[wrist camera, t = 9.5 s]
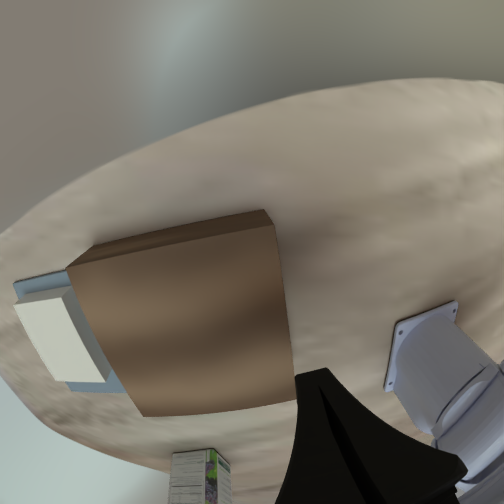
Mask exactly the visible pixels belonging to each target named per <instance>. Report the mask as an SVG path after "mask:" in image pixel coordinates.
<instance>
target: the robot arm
mask: <svg viewBox="0 0 504 504" xmlns="http://www.w3.org/2000/svg"><path fill="white" fill-rule="evenodd" d="M457 309H458V302H457V301H453V302H450V303H448V304H445V305H443V306H441V307H438V308H436V309H433V310H431V311H428V312H425V313H423V314H420V315H417V316H415V317H412V318H409V319H406V320H404V321H401V322H399V323H398V324H397V325H396V327H395V333H394V339H393V345H392V351H391V357H390V362H389V367H388V372H387V377H386V382H385V386H384V391H385V392H389V391H392V390H393V391H394V392H395V394H396V395H397V397H398V399H399V400H400V402H401V403H402V405H403V407H404V408H405V410H406V412H407V413H408V415H409V417H410V418H411V420H412V421H413V423H414V425H415V426H416V427H417V428H418V429H419V430H421V431H423V432H425V433H427V434H432V435H433V436H434V437H435V438H434V439H433V441H432V442H431V446H429V445H426V444H424V443H421V442H419V441H417V440H415V439H413V438H411V437H409V436H407V435H405V434H403V433H401V432H400V431H398V430H396V429H395V428H393V427H392V426H390V425H389V424H387V423H386V422H384V421H383V420H381V419H380V418H379V417H377V416H376V415H375V414H373V413H372V412H371V411H370V410H368V409H367V408H366V407H365V406H364V405H362V404H361V403H360V402H359V401H358V400H357V399H356V398H355V397H354V396H353V395H352V394H351V393H350V392H349V391H348V390H347V389H346V388H345V387H344V386H343V385H342V384H341V383H340V382H339V381H338V380H337V379H336V377H335V376H334V375H333V374H332V373H331V371H330V370H329V369H328V368H322V369H318V370H314V371H310V372H306V373H302V374H297V375H296V376H295V377H294V379H295V388H296V398H297V405H298V412H297V425H296V433H295V439H294V445H293V449H292V454H291V458H290V462H289V465H288V469H287V472H286V476H285V479H284V481H283V484H282V487H281V489H280V492H279V495H278V497H277V499H276V502H275V504H504V360H503V361H502V362H501V363H500V365H499V364H496V363H495V362H494V361H493V360H492V359H491V358H490V357H489V356H488V355H487V354H486V353H485V352H484V351H483V350H482V349H481V348H480V347H479V346H478V345H477V344H476V343H475V342H474V341H473V340H472V339H471V338H469V337H468V336H467V335H466V334H465V333H464V332H463V331H462V330H461V329H460V328H459V327H458V326H456V325H455V324H454V321H455V317H456V313H457ZM455 486H456V487H458V488H460V489H461V490H463V491H464V492H465V494H463V495H462V496H460V497H459V498H457V497H456V495H455V493H456V492H457V489H456V487H455Z"/></svg>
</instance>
